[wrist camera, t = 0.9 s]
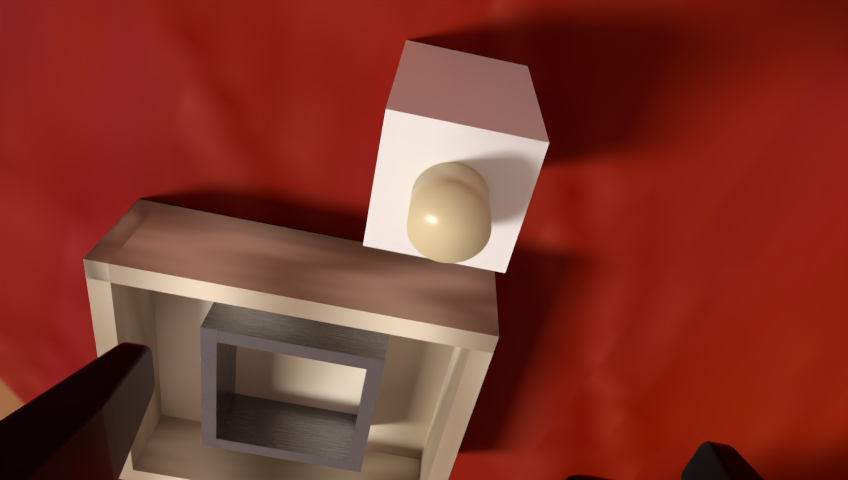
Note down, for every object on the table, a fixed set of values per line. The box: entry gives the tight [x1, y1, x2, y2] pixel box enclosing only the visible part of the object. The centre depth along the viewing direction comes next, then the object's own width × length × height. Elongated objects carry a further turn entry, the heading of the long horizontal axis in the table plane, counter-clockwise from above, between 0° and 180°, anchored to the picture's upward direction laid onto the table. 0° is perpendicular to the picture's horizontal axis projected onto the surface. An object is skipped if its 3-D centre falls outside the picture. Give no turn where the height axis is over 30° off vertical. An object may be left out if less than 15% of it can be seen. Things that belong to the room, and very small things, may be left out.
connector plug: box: [363, 40, 549, 273], centre depth 17 cm, size 4×4×8 cm
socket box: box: [83, 199, 499, 480], centre depth 25 cm, size 14×12×4 cm
